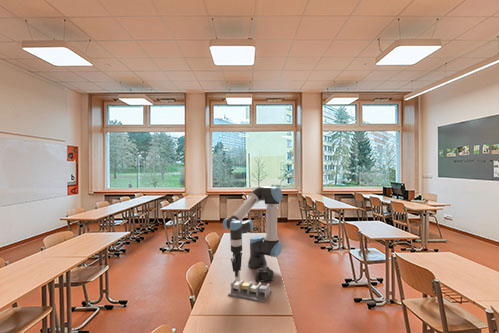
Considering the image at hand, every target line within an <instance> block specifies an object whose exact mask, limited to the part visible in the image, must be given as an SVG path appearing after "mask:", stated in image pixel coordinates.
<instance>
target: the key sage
mask: <svg viewBox="0 0 499 333" xmlns="http://www.w3.org/2000/svg"><path fill="white" fill-rule="evenodd" d="M256 287H257V285H255V284H252V286H251V287H250V291H251V292H256Z"/></svg>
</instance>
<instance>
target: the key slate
mask: <svg viewBox="0 0 499 333" xmlns="http://www.w3.org/2000/svg"><path fill="white" fill-rule="evenodd" d="M266 286H267V285H262V284H261V286H260V288H259V292H264V293H265V287H266Z"/></svg>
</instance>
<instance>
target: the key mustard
mask: <svg viewBox="0 0 499 333" xmlns="http://www.w3.org/2000/svg"><path fill="white" fill-rule="evenodd" d="M249 283H250V282H245V281H244V283H243V284H242V285H241V286H242V289H247V285H248V284H249Z"/></svg>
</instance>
